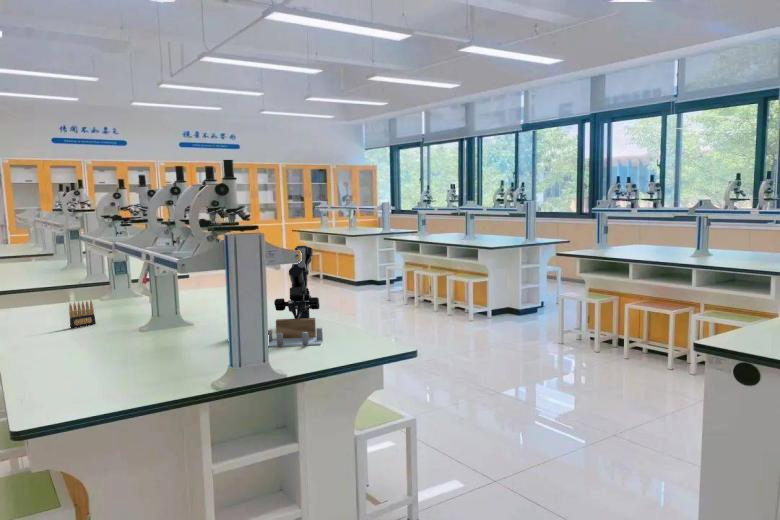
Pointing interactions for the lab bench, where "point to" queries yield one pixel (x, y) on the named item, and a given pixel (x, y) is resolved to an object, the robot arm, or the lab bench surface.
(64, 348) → the lab bench surface
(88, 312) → the ammunition clip
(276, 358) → the lab bench surface
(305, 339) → the peg plate
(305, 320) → the shelf board
